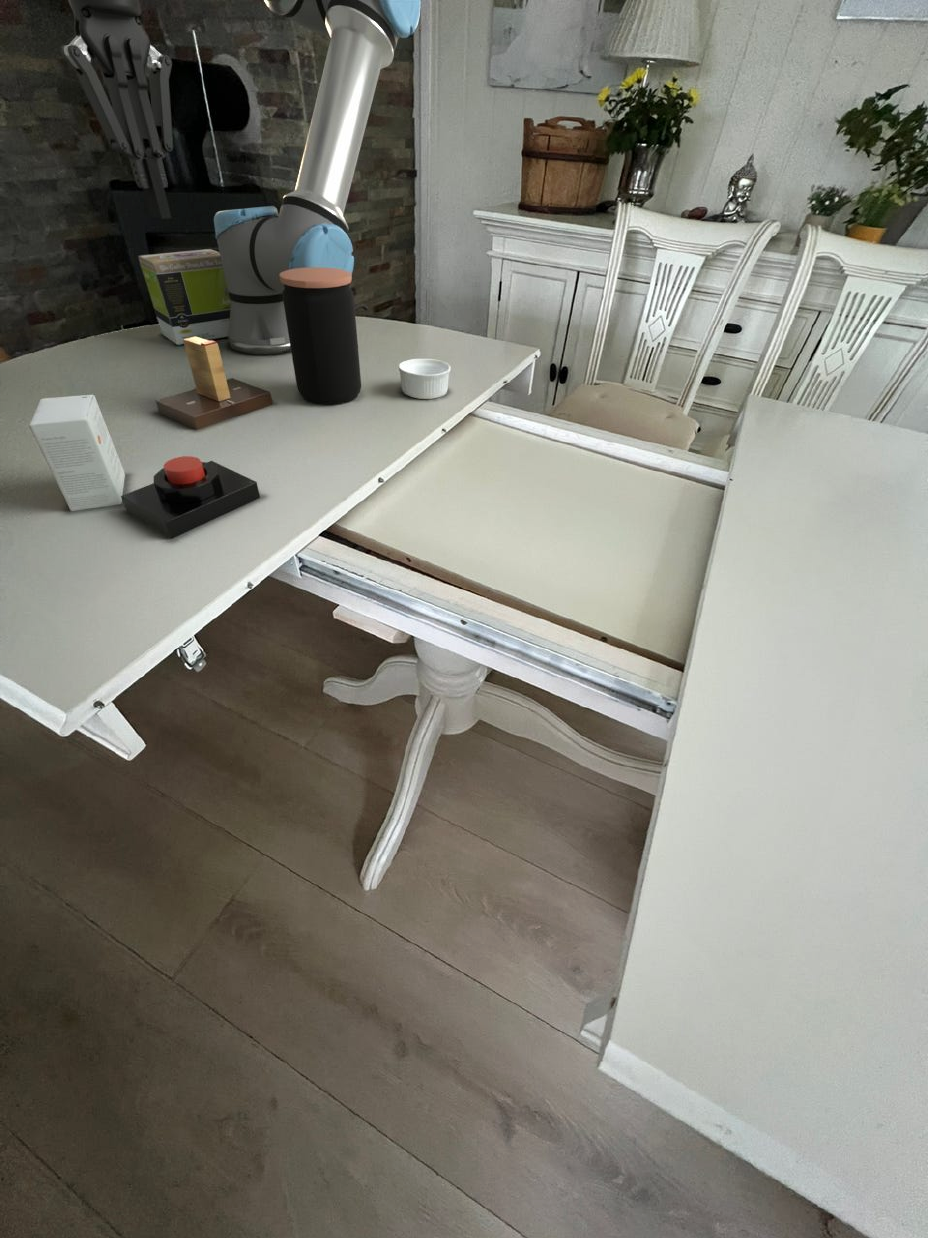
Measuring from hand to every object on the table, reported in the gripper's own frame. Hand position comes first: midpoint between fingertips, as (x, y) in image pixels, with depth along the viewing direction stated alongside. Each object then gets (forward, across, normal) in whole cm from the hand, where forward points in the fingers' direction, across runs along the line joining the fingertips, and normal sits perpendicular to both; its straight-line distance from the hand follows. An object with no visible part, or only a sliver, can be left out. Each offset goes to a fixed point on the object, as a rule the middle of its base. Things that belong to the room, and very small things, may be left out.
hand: (161, 217), depth 80 cm
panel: (+24, -3, -7) cm, 26 cm away
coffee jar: (+25, +13, -16) cm, 32 cm away
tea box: (+25, +20, +30) cm, 44 cm away
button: (+21, -23, -31) cm, 44 cm away
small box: (+25, -29, -20) cm, 43 cm away
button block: (+24, -23, -31) cm, 46 cm away
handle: (+22, -3, -7) cm, 24 cm away
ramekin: (+25, +25, -27) cm, 44 cm away
